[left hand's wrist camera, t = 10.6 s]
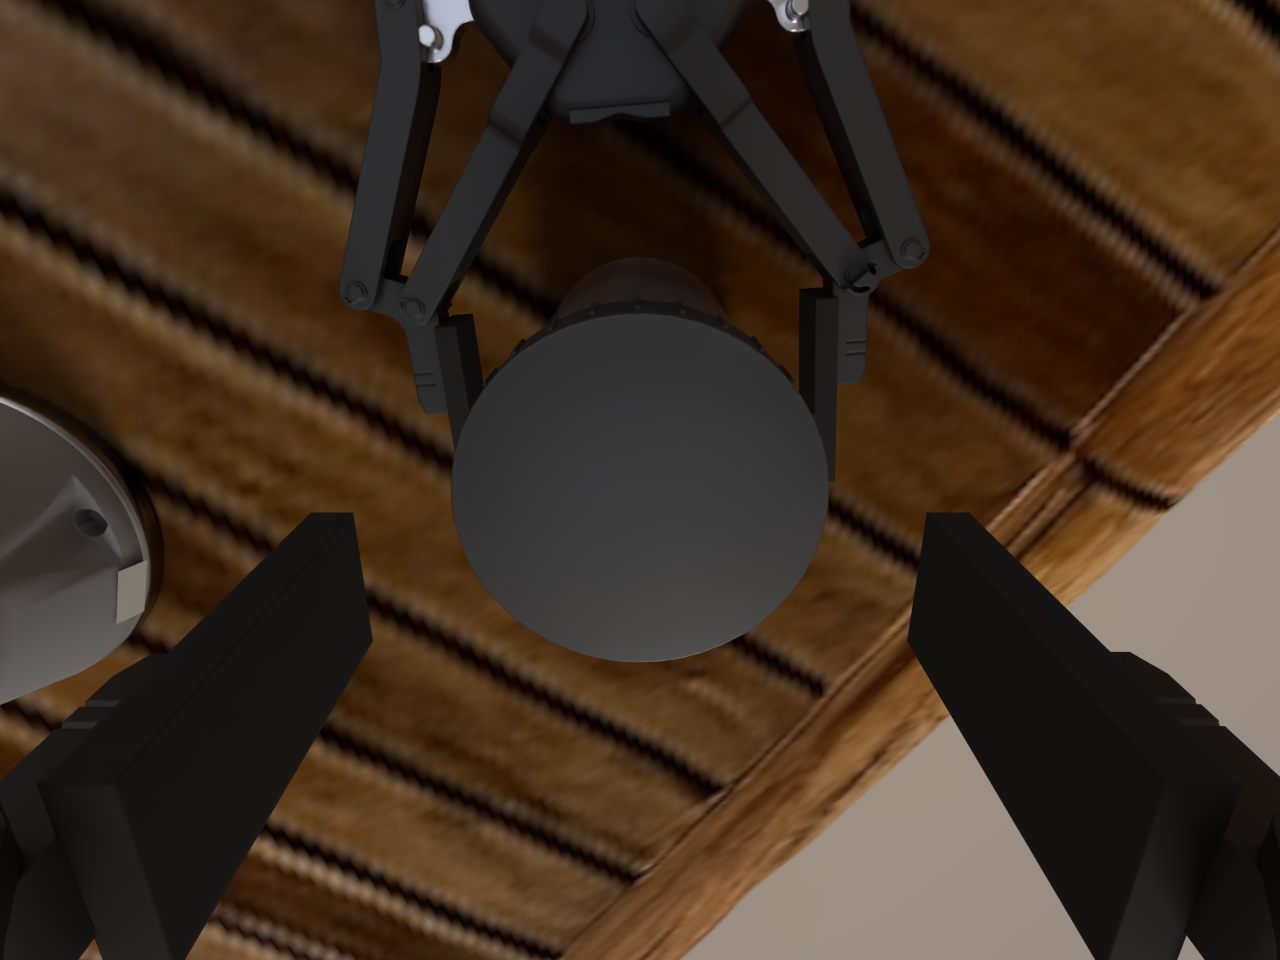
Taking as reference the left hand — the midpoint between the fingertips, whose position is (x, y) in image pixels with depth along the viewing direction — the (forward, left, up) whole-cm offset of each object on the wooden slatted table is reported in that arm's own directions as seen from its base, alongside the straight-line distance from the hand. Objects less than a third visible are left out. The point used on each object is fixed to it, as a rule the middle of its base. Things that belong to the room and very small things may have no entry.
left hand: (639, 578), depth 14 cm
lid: (0, 0, -4) cm, 4 cm away
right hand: (+2, -3, -14) cm, 15 cm away
